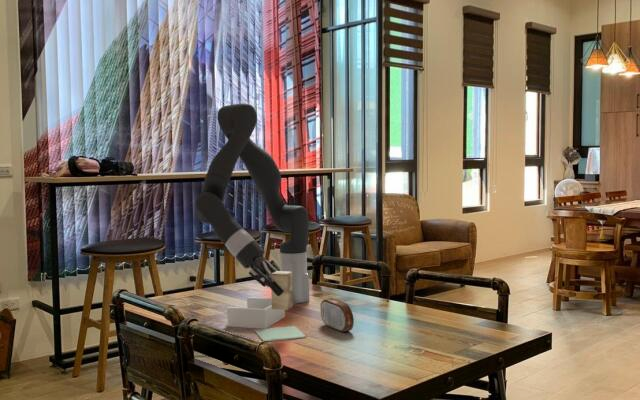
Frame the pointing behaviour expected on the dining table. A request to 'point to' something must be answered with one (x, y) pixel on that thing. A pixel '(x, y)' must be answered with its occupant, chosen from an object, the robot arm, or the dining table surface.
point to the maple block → (286, 284)
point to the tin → (337, 315)
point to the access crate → (254, 314)
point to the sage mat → (280, 333)
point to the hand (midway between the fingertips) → (284, 292)
